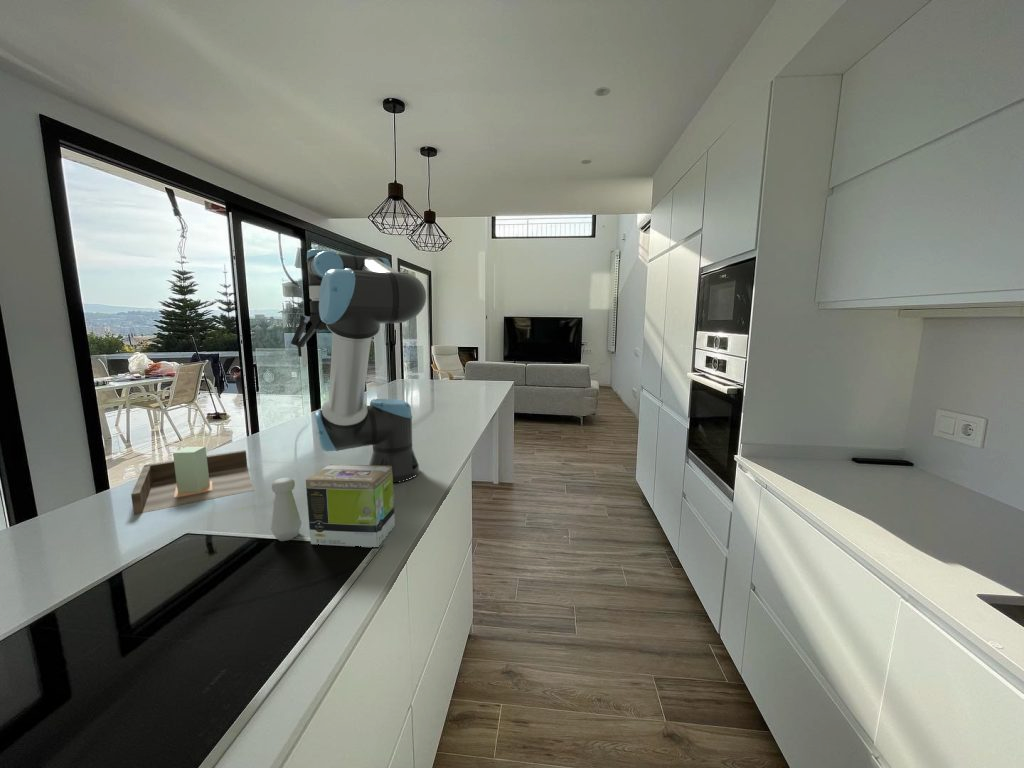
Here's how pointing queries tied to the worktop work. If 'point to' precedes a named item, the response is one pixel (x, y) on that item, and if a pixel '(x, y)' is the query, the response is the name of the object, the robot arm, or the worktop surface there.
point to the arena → (160, 488)
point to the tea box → (350, 505)
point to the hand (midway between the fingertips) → (326, 366)
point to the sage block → (191, 469)
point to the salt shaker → (285, 510)
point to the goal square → (206, 489)
